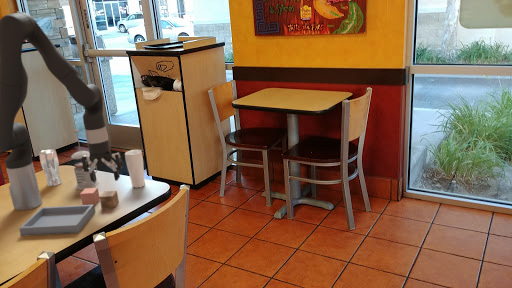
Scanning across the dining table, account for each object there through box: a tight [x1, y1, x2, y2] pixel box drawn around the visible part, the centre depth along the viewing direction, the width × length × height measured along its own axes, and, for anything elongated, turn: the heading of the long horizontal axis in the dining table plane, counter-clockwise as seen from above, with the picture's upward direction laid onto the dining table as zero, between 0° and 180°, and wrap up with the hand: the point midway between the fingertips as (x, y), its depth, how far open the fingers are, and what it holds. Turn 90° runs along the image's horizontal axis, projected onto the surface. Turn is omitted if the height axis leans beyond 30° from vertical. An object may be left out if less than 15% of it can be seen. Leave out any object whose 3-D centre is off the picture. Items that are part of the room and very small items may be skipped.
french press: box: [70, 129, 100, 191], centre depth 193 cm, size 10×12×25 cm
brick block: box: [79, 187, 100, 206], centre depth 178 cm, size 5×5×5 cm
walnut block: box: [99, 190, 120, 210], centre depth 174 cm, size 5×5×5 cm
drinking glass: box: [124, 149, 146, 189], centre depth 189 cm, size 7×7×15 cm
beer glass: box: [38, 148, 63, 187], centre depth 199 cm, size 7×7×15 cm
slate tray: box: [18, 204, 96, 237], centre depth 163 cm, size 20×16×3 cm
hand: (105, 180), depth 171 cm, fingers open, 8 cm apart
